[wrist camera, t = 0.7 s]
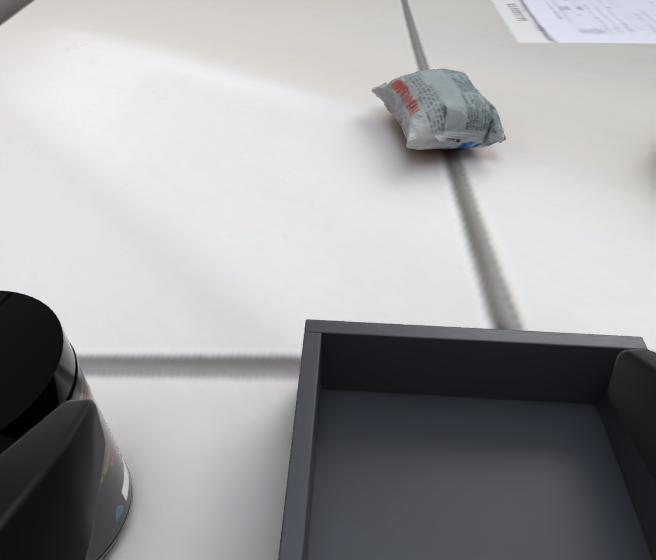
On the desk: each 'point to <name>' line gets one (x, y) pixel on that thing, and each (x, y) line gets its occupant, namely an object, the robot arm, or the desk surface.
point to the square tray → (462, 448)
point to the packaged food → (441, 110)
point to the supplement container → (54, 401)
